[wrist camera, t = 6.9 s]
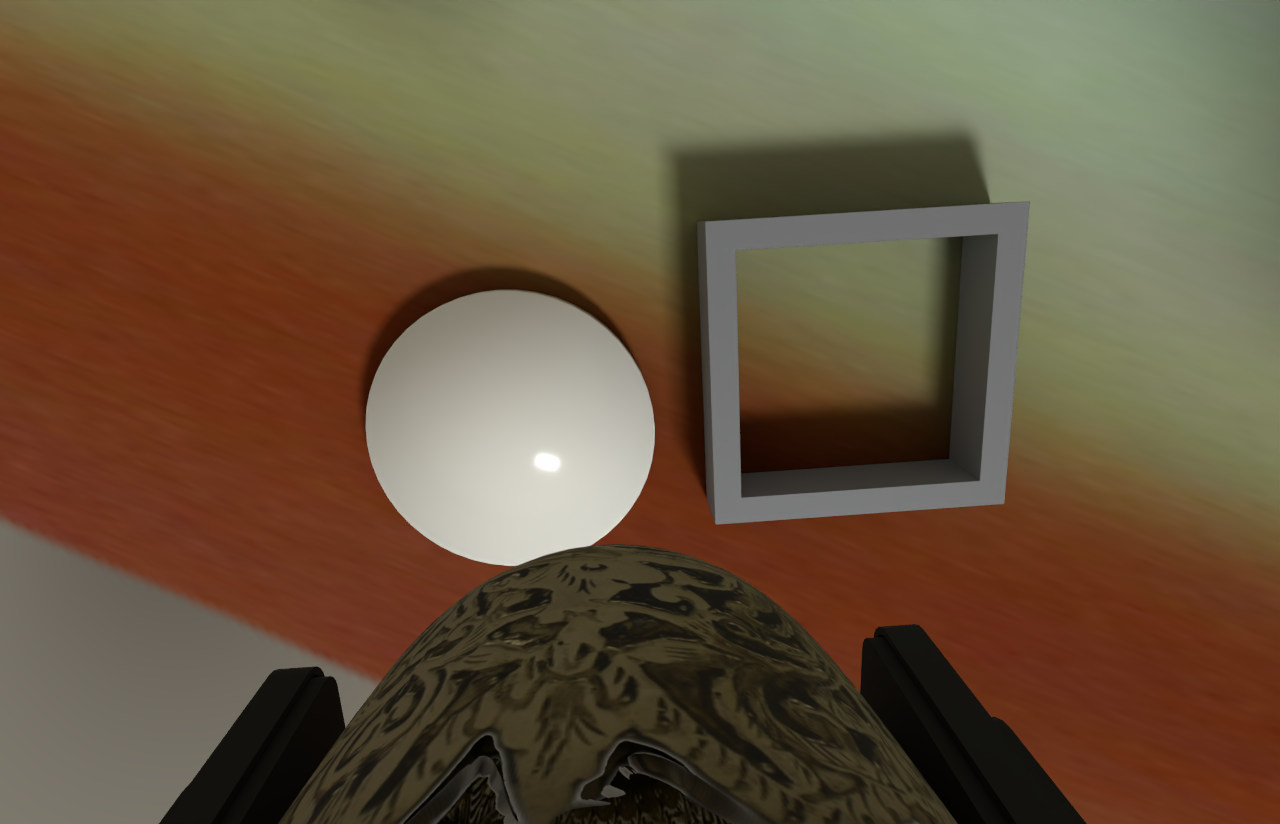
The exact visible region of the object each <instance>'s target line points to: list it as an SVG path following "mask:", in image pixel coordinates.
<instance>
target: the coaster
mask: <svg viewBox="0 0 1280 824" xmlns="http://www.w3.org/2000/svg"><path fill="white" fill-rule="evenodd" d="M366 436H367V446H368V450H369V454H370V458H371V462H372V465H373V468H374V471H375V473H376V476H377V478H378V481H379V482H380V484H381V486H382V488H383V490H384V492H385V493H386V495H387V497H388V498H389V500H390V501H391V502H392V504H393V505H394V506H395V508H396V509H397V511H398V512H399V513H400V514H401V515H402V516H403V517H404V518H405V519H406V520H407V521H408V522H409V523H410V524H411V525H412V526H413V527H414V528H415V529H417V530H418V531H419V532H420V533H421V534H423V535H424V536H425V537H427V538H428V539H430V540H431V541H433V542H434V543H436V544H437V545H439V546H441V547H443V548H445V549H447V550H449V551H451V552H453V553H455V554H458V555H461V556H463V557H466V558H469V559H472V560H476V561H480V562H485V563H489V564H497V565H507V566H518V565H520V564H522V563H525V562H528V561H531V560H533V559H536V558H539V557H541V556H544V555H547V554H551V553H555V552H559V551H563V550H567V549H572V548H579V547H586V546H590V545H592V544H594V543H595V542H596V541H598V540H599V539H601V538H602V537H603V536H605V535H606V534H607V533H609V532H610V531H611V530H612V529H613V528H614V527H615V526H616V525H617V524H618V523H619V522H620V521H621V520H622V519H623V517H624V516H625V515H626V514H627V513H628V511H629V510H630V509H631V507H632V506H633V504H634V503H635V501H636V499H637V498H638V496H639V495H640V493H641V490H642V488H643V486H644V484H645V481H646V479H647V476H648V473H649V469H650V466H651V463H652V457H653V451H654V443H655V425H654V417H653V409H652V404H651V400H650V396H649V392H648V389H647V385H646V383H645V380H644V378H643V376H642V373H641V371H640V369H639V367H638V365H637V364H636V362H635V360H634V358H633V357H632V355H631V353H630V352H629V351H628V349H627V348H626V347H625V346H624V344H623V343H622V342H621V340H620V339H619V338H618V337H617V336H616V335H615V334H614V333H613V332H612V331H611V330H610V329H609V328H608V327H607V326H606V325H605V324H603V323H602V322H601V321H599V320H598V319H597V318H595V317H594V316H593V315H591V314H590V313H588V312H586V311H585V310H583V309H581V308H579V307H578V306H576V305H574V304H572V303H569V302H567V301H565V300H562V299H560V298H557V297H554V296H551V295H547V294H543V293H539V292H534V291H527V290H519V289H497V290H490V291H482V292H477V293H473V294H470V295H466V296H462V297H459V298H457V299H455V300H452V301H450V302H448V303H445V304H443V305H441V306H439V307H437V308H436V309H434V310H432V311H431V312H429V313H427V314H426V315H424V316H422V317H421V318H420V319H418V320H417V321H416V322H415V323H413V324H412V325H411V326H410V327H409V328H407V329H406V330H405V331H404V333H403V334H402V335H401V336H400V337H399V338H398V339H397V340H396V341H395V342H394V343H393V345H392V346H391V348H390V349H389V351H388V352H387V354H386V355H385V356H384V358H383V360H382V362H381V364H380V366H379V368H378V370H377V372H376V374H375V377H374V380H373V383H372V386H371V389H370V392H369V397H368V403H367V408H366Z"/></svg>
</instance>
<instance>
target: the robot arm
mask: <svg viewBox="0 0 1280 824" xmlns="http://www.w3.org/2000/svg"><path fill="white" fill-rule="evenodd" d="M860 694H861V695H862V696H863V698H864V699H865V700H866V702H867V703H868V704H869V706H870V707H871V708H872V710H873V711H874V712H875V713H876V715H877V716H878V717H879V719H880V720H881V721H882V723H883V724H884V725H885V727H886V728H887V729H888V731H889V732H890V733H891V735H892V736H893V737H894V739H895V740H896V741H897V743H898V744H899V745H900V747H901V748H902V749H903V751H904V752H905V753H906V755H907V756H908V757H909V759H910V760H911V761H912V763H913V764H914V765H915V767H916V768H917V769H918V771H919V772H920V773H921V775H922V776H923V777H924V779H925V780H926V781H927V783H928V784H929V785H930V787H931V788H932V790H933V791H934V792H935V794H936V795H937V796H938V798H939V799H940V800H941V802H942V803H943V804H944V806H945V807H946V808H947V810H948V811H949V813H950V814H951V815H952V817H953V818H954V819H955V821H956V822H957V823H958V824H1086V822H1085V821H1084V820H1083V819H1082V817H1081V816H1080V815H1079V814H1078V812H1077V811H1076V810H1075V809H1074V807H1073V806H1072V805H1071V804H1070V802H1069V801H1068V800H1067V799H1066V797H1065V796H1064V795H1063V794H1062V792H1061V791H1060V790H1059V789H1058V787H1057V786H1056V785H1055V784H1054V782H1053V781H1052V780H1051V779H1050V777H1049V776H1048V775H1047V773H1046V772H1045V771H1044V770H1043V768H1042V767H1041V766H1040V765H1039V763H1038V762H1037V761H1036V760H1035V758H1034V757H1033V756H1032V755H1031V753H1030V752H1029V751H1028V750H1027V748H1026V747H1025V746H1024V745H1023V743H1022V742H1021V741H1020V740H1019V738H1018V737H1017V736H1016V735H1015V733H1014V732H1013V731H1012V730H1011V728H1010V727H1009V726H1008V725H1007V724H1006V723H1005V722H1004V721H1003V720H1000V719H998V718H996V717H991V716H990V715H989V714H988V712H987V711H986V710H985V709H984V707H983V706H982V705H981V703H980V702H979V701H978V699H977V698H976V697H975V696H974V694H973V693H972V692H971V690H970V689H969V688H968V687H967V685H966V684H965V683H964V681H963V680H962V679H961V678H960V676H959V675H958V674H957V672H956V671H955V670H954V669H953V667H952V666H951V665H950V663H949V662H948V661H947V659H946V658H945V657H944V656H943V654H942V653H941V652H940V650H939V649H938V648H937V647H936V645H935V644H934V643H933V641H932V640H931V639H930V638H929V636H928V635H927V634H926V632H925V631H924V630H923V629H922V628H921V627H920V626H919V625H916V624H912V625H898V626H884V627H878V628H877V629H876V631H875V633H874V638H866V639H865V640H864V642H863V647H862V668H861V689H860ZM344 730H345V723H344V718H343V713H342V707H341V703H340V697H339V692H338V686H337V683H336V680H335V679H334V678H333V677H331V676H329V677H325V676H324V673H323V671H322V670H321V668H319V667H303V668H289V669H278V670H274V671H273V672H272V673H271V674H270V675H269V676H268V677H267V679H266V680H265V682H264V683H263V684H262V686H261V687H260V688H259V690H258V691H257V693H256V694H255V695H254V697H253V698H252V700H251V701H250V702H249V704H248V705H247V706H246V708H245V709H244V710H243V712H242V713H241V715H240V716H239V717H238V719H237V720H236V721H235V723H234V724H233V726H232V727H231V729H230V730H229V731H228V733H227V734H226V735H225V737H224V738H223V739H222V741H221V742H220V744H219V745H218V746H217V748H216V749H215V750H214V752H213V753H212V754H211V756H210V757H209V759H208V760H207V761H206V763H205V764H204V765H203V767H202V768H201V770H200V771H199V772H198V774H197V775H196V776H195V778H194V779H193V781H192V782H191V783H190V784H189V785H188V786H187V787H186V788H185V790H184V791H183V792H182V793H181V794H180V796H179V797H178V798H177V800H176V801H175V803H174V804H173V805H172V807H171V808H170V809H169V811H168V812H167V814H166V815H165V816H164V818H163V819H162V820H161V822H160V823H159V824H278V823H279V822H280V820H281V819H282V818H283V816H284V815H285V813H286V812H287V810H288V809H289V808H290V806H291V805H292V803H293V802H294V800H295V799H296V798H297V796H298V795H299V793H300V792H301V790H302V789H303V787H304V786H305V785H306V783H307V782H308V780H309V779H310V778H311V776H312V775H313V773H314V772H315V770H316V769H317V768H318V766H319V765H320V763H321V762H322V761H323V759H324V758H325V756H326V755H327V754H328V752H329V751H330V749H331V748H332V747H333V745H334V744H335V742H336V741H337V740H338V738H339V737H340V735H341V734H342V733H343V731H344Z"/></svg>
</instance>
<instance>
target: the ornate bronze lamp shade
mask: <svg viewBox="0 0 1280 824" xmlns="http://www.w3.org/2000/svg"><path fill="white" fill-rule="evenodd" d="M278 824H958V823H957V822H956V821H955V819H954V818H953V817H952V815H951V814H950V813H949V811H948V810H947V808H946V807H945V806H944V804H943V803H942V802H941V800H940V799H939V798H938V796H937V795H936V794H935V792H934V791H933V790H932V788H931V787H930V785H929V784H928V783H927V781H926V780H925V779H924V777H923V776H922V775H921V773H920V772H919V771H918V769H917V768H916V767H915V765H914V764H913V763H912V761H911V760H910V759H909V757H908V756H907V755H906V753H905V752H904V751H903V749H902V748H901V747H900V745H899V744H898V743H897V741H896V740H895V739H894V737H893V736H892V735H891V733H890V732H889V731H888V729H887V728H886V727H885V725H884V724H883V723H882V721H881V720H880V719H879V717H878V716H877V715H876V713H875V712H874V711H873V710H872V708H871V707H870V706H869V704H868V703H867V702H866V700H865V699H864V698H863V696H862V695H861V694H860V693H859V691H858V690H857V689H856V687H855V686H854V685H853V684H852V683H851V681H850V680H849V679H848V678H847V676H846V675H845V674H844V673H843V672H842V670H841V669H840V668H839V667H838V665H837V664H836V663H835V662H834V661H833V660H832V659H831V658H830V656H829V655H828V654H827V653H826V652H825V651H824V650H823V649H822V647H821V646H820V645H819V644H818V643H817V642H816V641H815V640H814V639H813V638H812V637H811V635H810V634H809V633H808V632H807V631H806V630H805V629H804V628H803V627H802V626H801V625H800V624H799V623H798V622H797V621H796V620H795V619H793V618H792V617H791V616H790V615H789V614H788V613H787V612H785V611H784V610H783V609H782V608H781V607H780V606H778V605H777V604H776V603H775V602H774V601H772V600H771V599H770V598H769V597H767V596H766V595H765V594H764V593H762V592H761V591H759V590H758V589H756V588H755V587H753V586H752V585H750V584H749V583H748V582H746V581H745V580H743V579H741V578H739V577H737V576H735V575H733V574H731V573H730V572H728V571H726V570H724V569H722V568H719V567H717V566H714V565H712V564H709V563H707V562H704V561H702V560H699V559H696V558H694V557H691V556H688V555H685V554H681V553H677V552H674V551H670V550H666V549H660V548H654V547H648V546H639V545H622V544H613V545H592V546H586V547H579V548H572V549H567V550H563V551H559V552H555V553H551V554H547V555H544V556H541V557H539V558H536V559H533V560H531V561H528V562H525V563H522V564H520V565H518V566H516V567H513V568H511V569H509V570H507V571H505V572H503V573H501V574H499V575H497V576H495V577H493V578H491V579H489V580H488V581H486V582H484V583H483V584H481V585H480V586H478V587H477V588H475V589H474V590H472V591H470V592H469V593H467V594H466V595H465V596H464V597H462V598H461V599H460V600H459V601H458V602H456V603H455V604H454V605H453V606H451V607H450V608H449V609H448V610H447V611H445V612H444V613H443V614H442V615H441V616H440V617H439V618H438V619H436V620H435V621H434V622H433V623H432V624H431V625H430V626H429V627H428V628H427V629H426V630H425V631H424V632H423V633H422V634H421V635H420V636H419V637H418V638H417V639H416V640H415V641H414V642H413V643H412V644H411V646H410V647H409V648H408V649H407V650H406V651H405V652H404V654H403V655H402V656H401V657H400V658H399V659H398V660H397V662H396V663H395V664H394V665H393V666H392V668H391V669H390V670H389V671H388V673H387V674H386V675H385V677H384V678H383V679H382V681H381V682H380V683H379V684H378V686H377V687H376V688H375V690H374V691H373V692H372V694H371V695H370V696H369V698H368V699H367V700H366V702H365V703H364V704H363V705H362V707H361V708H360V709H359V711H358V712H357V713H356V715H355V716H354V717H353V719H352V720H351V721H350V723H349V724H348V726H347V727H346V728H345V730H344V731H343V733H342V734H341V735H340V737H339V738H338V740H337V741H336V742H335V744H334V745H333V747H332V748H331V749H330V751H329V752H328V754H327V755H326V756H325V758H324V759H323V761H322V762H321V763H320V765H319V766H318V768H317V769H316V770H315V772H314V773H313V775H312V776H311V778H310V779H309V780H308V782H307V783H306V785H305V786H304V787H303V789H302V790H301V792H300V793H299V795H298V796H297V798H296V799H295V800H294V802H293V803H292V805H291V806H290V808H289V809H288V810H287V812H286V813H285V815H284V816H283V818H282V819H281V820H280V822H279V823H278Z"/></svg>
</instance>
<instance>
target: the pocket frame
mask: <svg viewBox="0 0 1280 824" xmlns="http://www.w3.org/2000/svg"><path fill="white" fill-rule="evenodd" d="M1029 207H1030V202H1006V203H985V204H969V205H953V206H937V207H921V208H905V209H889V210H873V211H857V212H841V213H825V214H809V215H793V216H776V217H760V218H744V219H728V220H712V221H697V247H698V275H699V302H700V329H701V356H702V383H703V410H704V438H705V465H706V492H707V501H708V504H709V507H710V510H711V513H712V516H713V519H714V522H715V524H729V523H743V522H757V521H771V520H784V519H798V518H812V517H826V516H840V515H854V514H868V513H882V512H896V511H910V510H924V509H938V508H952V507H966V506H979V505H993V504H1004V499H1005V487H1006V475H1007V464H1008V452H1009V440H1010V429H1011V417H1012V405H1013V394H1014V382H1015V370H1016V359H1017V347H1018V335H1019V323H1020V312H1021V300H1022V288H1023V277H1024V265H1025V253H1026V242H1027V230H1028V218H1029ZM957 236H963V240H962V256H961V272H960V288H959V305H958V321H957V337H956V353H955V369H954V386H953V402H952V418H951V434H950V450H949V459H941V460H927V461H912V462H898V463H884V464H870V465H855V466H841V467H827V468H813V469H799V470H784V471H770V472H756V473H742V474H741V459H740V415H739V371H738V327H737V282H736V250H751V249H767V248H783V247H799V246H815V245H830V244H846V243H862V242H878V241H894V240H909V239H925V238H941V237H957Z"/></svg>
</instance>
